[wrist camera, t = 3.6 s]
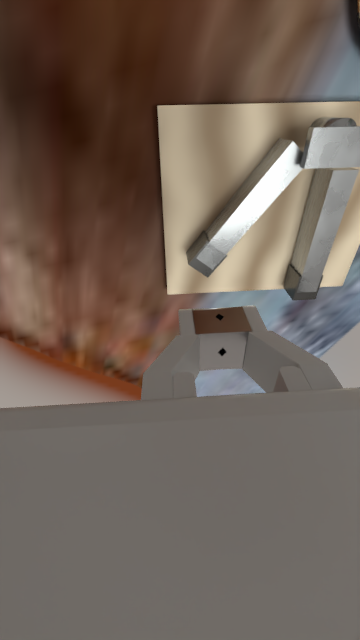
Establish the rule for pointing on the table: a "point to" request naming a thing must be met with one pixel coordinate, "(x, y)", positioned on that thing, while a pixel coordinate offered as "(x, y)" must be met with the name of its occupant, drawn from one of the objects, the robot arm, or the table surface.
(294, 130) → the board
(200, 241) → the tongs arm
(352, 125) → the tongs fixed
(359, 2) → the burger
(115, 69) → the table surface
